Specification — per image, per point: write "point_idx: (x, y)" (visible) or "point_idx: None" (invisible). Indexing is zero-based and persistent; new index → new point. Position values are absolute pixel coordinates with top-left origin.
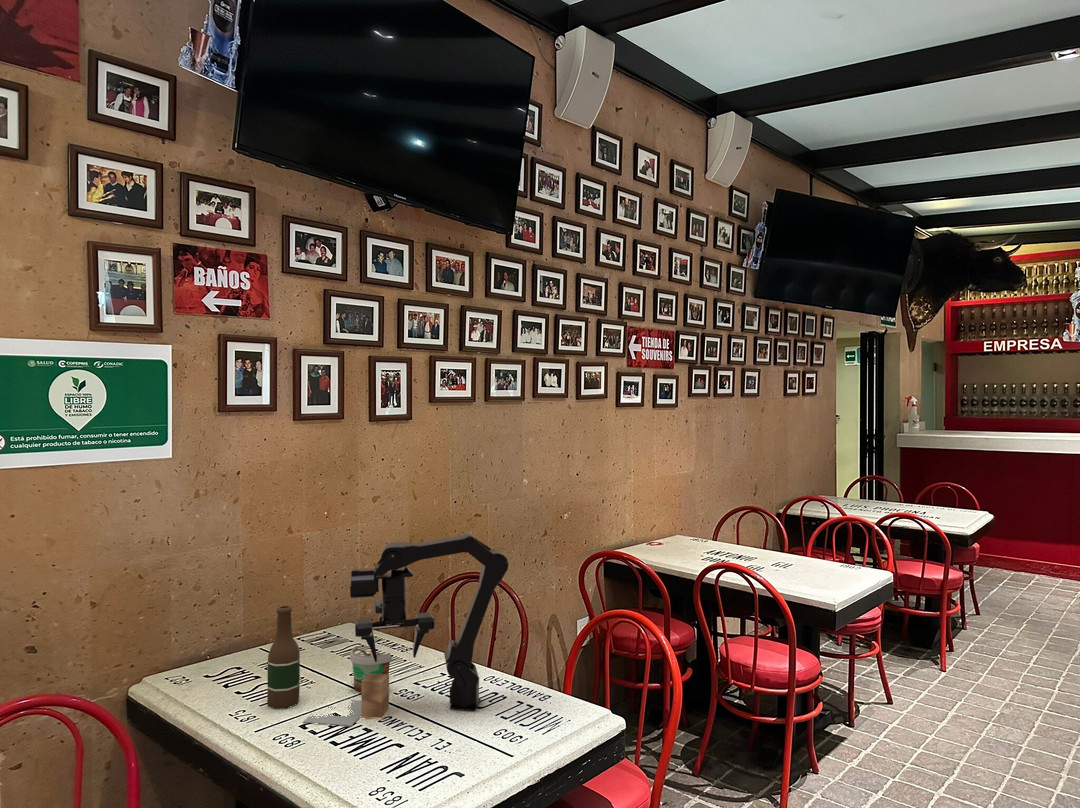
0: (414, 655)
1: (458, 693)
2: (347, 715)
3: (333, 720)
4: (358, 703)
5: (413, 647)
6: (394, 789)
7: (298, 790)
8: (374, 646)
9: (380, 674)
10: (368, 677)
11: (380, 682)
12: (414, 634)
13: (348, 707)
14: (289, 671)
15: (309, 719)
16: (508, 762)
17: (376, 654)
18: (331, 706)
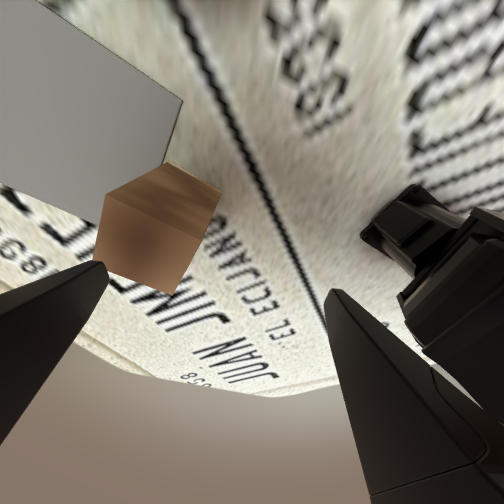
0: (329, 320)
1: (397, 261)
2: (112, 185)
3: (82, 202)
4: (128, 98)
5: (354, 342)
6: (205, 377)
7: (103, 359)
8: (5, 429)
9: (163, 227)
10: (112, 241)
11: (168, 292)
12: (472, 475)
13: (100, 122)
14: None
15: (8, 171)
16: (331, 373)
17: (76, 335)
18: (34, 86)
